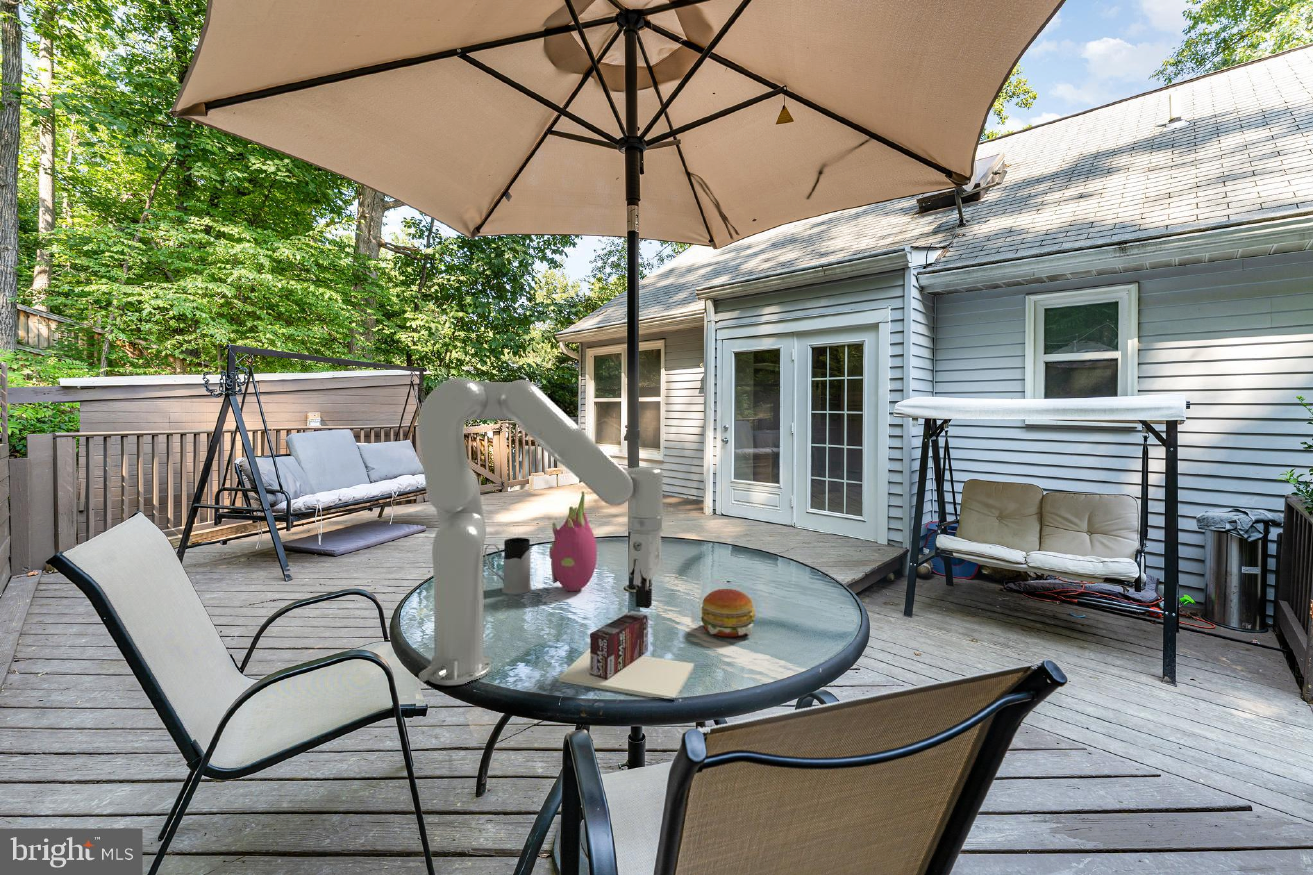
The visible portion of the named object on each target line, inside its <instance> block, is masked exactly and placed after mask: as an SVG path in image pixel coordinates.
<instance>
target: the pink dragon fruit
mask: <svg viewBox="0 0 1313 875" xmlns="http://www.w3.org/2000/svg"><path fill="white" fill-rule="evenodd" d="M585 496H586V495H585V492H584V491H583V490H582V491H581V497H580V500H579V503H578V506H577V507H576V506H575V507H573V506H569V508H568V515H567V517H566V519H565V521H564V523H563V524H562V525H561V526H560V527H559V528H557V524H556V522H554V521H553V522H552V526H551V529H552V533H553V537H554V541H551V546H549V558H550V566H551V568H550V569H551V578H552V584H556V583H559V584H560V585H561V586H562V588H564V589H565V590H567V591H570V592H577V591H580V590H582V589H583V588H585V587H586V586H587V585H588V584H589V582H590V580H592V577H593V575H594V573H595V570H596V566H597V560H598V559H597V558H598V548H597V541H596V537H595V533H594V532H593V530H592V528H591V526H590V524H589V519H588V518H587V514H586V509H585V503H586V502H585V498H586V497H585Z"/></svg>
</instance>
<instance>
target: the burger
mask: <svg viewBox="0 0 1313 875" xmlns="http://www.w3.org/2000/svg"><path fill="white" fill-rule="evenodd" d="M755 617H756V612H755V609H754V602H753V601H752V600H751V598H750V596H748V595H747V594H746V593H744V592H741V591H740V590H738V589H737V590H736V589H733V588H720V589H716V590H713V591H711V592H709V593H707V595H706V596H705V597H704V598H703V600H702V606H701V617H700V619H701V622H702V624H703V627H704V629H705V630H706V631H707V632H709V633H710V634H711V635H716V636H721V637H731V638H734V637H740V636H744V635H748V636H751V635H752V631H753V629H754V628H753V627H754V622H755V621H754V620H755Z"/></svg>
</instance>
